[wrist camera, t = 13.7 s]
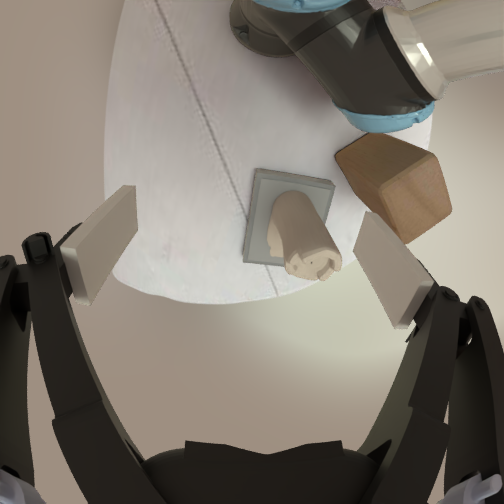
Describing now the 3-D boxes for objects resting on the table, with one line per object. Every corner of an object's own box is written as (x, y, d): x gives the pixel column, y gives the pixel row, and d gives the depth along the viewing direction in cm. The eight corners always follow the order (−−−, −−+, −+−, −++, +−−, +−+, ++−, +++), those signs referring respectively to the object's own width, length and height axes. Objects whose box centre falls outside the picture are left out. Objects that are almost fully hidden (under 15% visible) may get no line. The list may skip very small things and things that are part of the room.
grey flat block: (256, 168, 48) (257, 173, 45) (330, 180, 49) (335, 186, 46) (242, 254, 57) (242, 262, 54) (308, 261, 58) (311, 270, 56)
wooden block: (355, 196, 51) (404, 249, 34) (331, 154, 46) (379, 191, 29) (395, 171, 48) (455, 213, 31) (374, 128, 43) (438, 152, 26)
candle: (261, 255, 53) (268, 334, 36) (277, 186, 46) (297, 246, 29) (296, 260, 54) (317, 337, 37) (316, 194, 47) (356, 256, 30)
